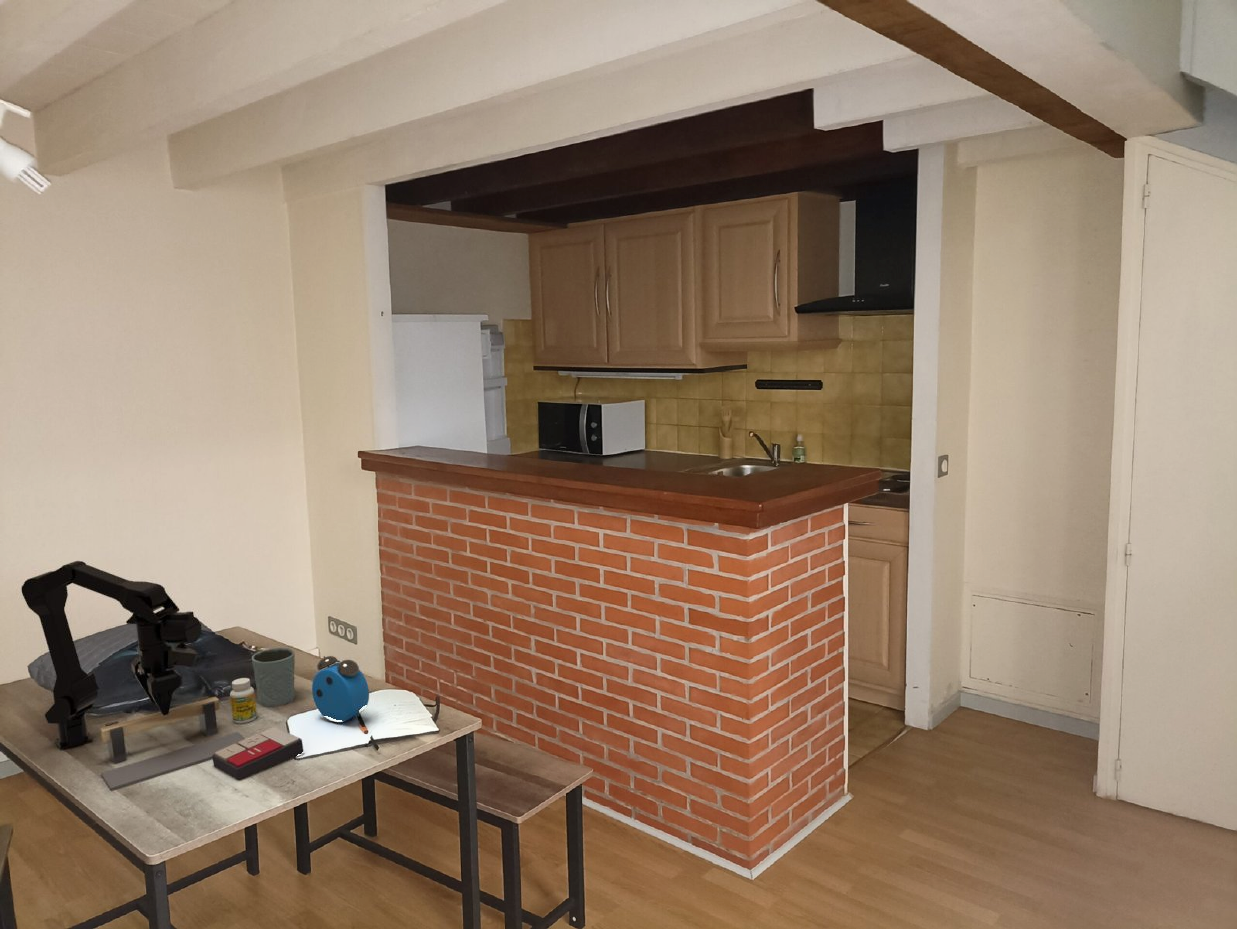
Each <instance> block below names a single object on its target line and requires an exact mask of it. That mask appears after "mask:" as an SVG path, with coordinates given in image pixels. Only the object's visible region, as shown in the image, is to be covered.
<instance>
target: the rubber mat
mask: <svg viewBox="0 0 1237 929" xmlns="http://www.w3.org/2000/svg"><path fill="white" fill-rule="evenodd" d="M244 739H246V738H245V737H244V736H243V735H242V734H241V733H240V732H239V731H236V732H232V733H229V734H226V735H223V736H219V737H215V738H212V739H209V740H206V741H202V742H199V743H196V744H193V745H190V746H186V747H183V748H179V749H176V750H172V751H169V752H166V753H162V754H159V755H156V756H153V757H149V758H145V759H142V760H139V761H136V762H132V763H130V764H126V765H123V766H119V767H115V768H113V769H110V770H109V769H108V770H106V771H103V772H101V773H100V775H101V778H103V781H104V782H105V783H106V785H107V787H108V788H109V790H110V791H115V790H119V789H122V788H124V787H128V786H131V785H134V784H137V783H140V782H144V781H147V780H150V779H154V778H157V777H159V776H162V775H163V776H164V775H166V774H169V773H173V772H175V771H178V770H183V769H185V768H188V767H191V766H195V765H197V764H201V763H204V762H206V761H211V760H213V758H212V755H214V754H215V752H217V751H219V750H221V749H224V748H226V747H228V746H230V745H233V744H238V742H240V741H242V740H244Z"/></svg>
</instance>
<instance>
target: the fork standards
mask: <svg viewBox="0 0 1237 929" xmlns="http://www.w3.org/2000/svg"><path fill="white" fill-rule="evenodd" d="M208 698H210V696H204V697H199V698H196V702H197V701H201V700H205V699H208ZM202 707H203V714H201V715H198V719H199V728H200V731H201V732H202V734H204V735H205V736H206V737H210V736H213V735H215V734H216V735H217V734H218V732H219V731H218V724H217V723H218V722H217V714H216V711H215V703H214V701H212V702H208V703H204V704H202ZM117 723H120V722H119V721H118V720H116V721H112V722H108V723H105V724H104V725H105V727H106V726H110V725H113V724H117ZM110 738H111V740H109V741H107V748H108V755H109V758H110V759H111V761H112V762H113V764H114V765H115V764H120V763H122V762H123V763H124V762H126V761H127V759H128V758H127V752H126V751H127V750H126V744H125V741H126V740H125V736H124V733H123V727H122V726H121V727H117V728H114V729H110Z"/></svg>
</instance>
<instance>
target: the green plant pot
mask: <svg viewBox="0 0 1237 929" xmlns="http://www.w3.org/2000/svg"><path fill="white" fill-rule="evenodd" d="M295 658H296V655H295V650H294V649H292V648H288V647H274V648H267V649H264V650H261V651H258V652H255V653H254V654H253V655H252V656H251V663H252V668H253V674H254V681H255V686H256V694H257V702H258V704H259V706H262V707H267V708H273V707H279V706H283V705H287V704H289V703H291V702H292V701H293V700H294V699H295V697H296V696H295V695H296V694H295V692H296V691H295V664H296V663H295V662H296V660H295Z"/></svg>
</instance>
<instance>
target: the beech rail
mask: <svg viewBox="0 0 1237 929" xmlns="http://www.w3.org/2000/svg"><path fill="white" fill-rule="evenodd" d="M212 701H214V703H215V712H216V711H219V710H220V708H221V707H220V700H219V698H218V697H217V696H212V697H209V698H208V699H205V700H201V701H197V700H196V701H195V702H191V703H187V704H183V705H179V706H176V707H172V708H170V709H169V714H168V715H163V714H162V713H161V711H157V712H154V713H150V714H147V715H142V716H139V717H135V718H132V719H128V720H124V721H121V722H119V723H117V724H113V725H110V726H106V725H105V726H103V727H100V728H99V730H100V737H101V740H102V742H103V743H105V742H108V741H109V740H111V738H110V729H114V728H117V727H121V726H122V727H123V733H124V737H126V736H129V735H134V734H137V733H141V732H144V731H147V730H151V729H154V728H158V727H162V726H165V725H170V724H173V723H176V722H181V721H183V720H187V719H191V718H194V717H196V716H197V717H199V715H201V714H203V707H202V704H204V703H208V702H212Z"/></svg>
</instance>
